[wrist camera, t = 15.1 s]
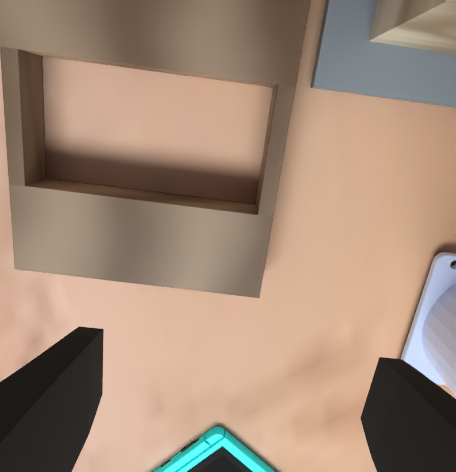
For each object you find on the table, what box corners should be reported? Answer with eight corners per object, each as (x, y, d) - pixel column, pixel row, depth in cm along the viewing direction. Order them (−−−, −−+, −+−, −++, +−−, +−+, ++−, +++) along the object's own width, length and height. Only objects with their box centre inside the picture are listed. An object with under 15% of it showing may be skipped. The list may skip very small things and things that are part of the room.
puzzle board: (349, -277, 13) (369, -343, 11) (256, 280, 20) (259, 297, 18) (8, -334, 13) (-31, -411, 11) (35, 254, 20) (14, 269, 18)
